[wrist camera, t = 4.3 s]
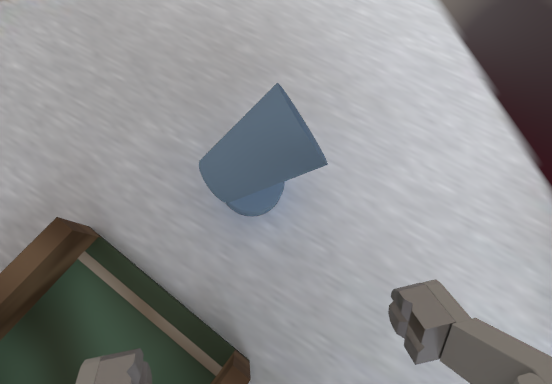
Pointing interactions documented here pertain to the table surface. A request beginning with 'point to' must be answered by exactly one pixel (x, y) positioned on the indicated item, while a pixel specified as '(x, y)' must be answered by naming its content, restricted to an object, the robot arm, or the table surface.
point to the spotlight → (261, 155)
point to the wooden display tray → (99, 316)
